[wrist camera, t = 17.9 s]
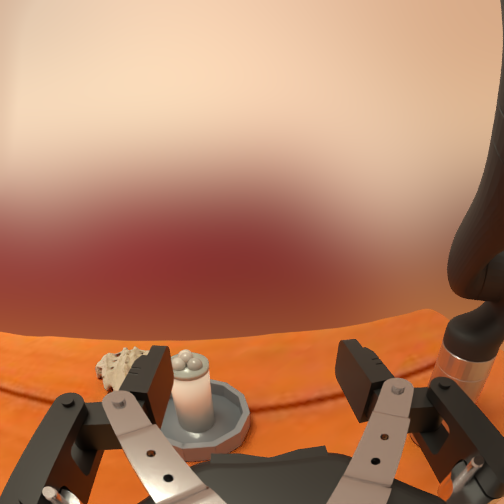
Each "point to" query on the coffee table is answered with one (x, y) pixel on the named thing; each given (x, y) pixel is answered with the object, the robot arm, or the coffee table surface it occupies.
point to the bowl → (220, 435)
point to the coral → (117, 367)
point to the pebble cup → (192, 392)
